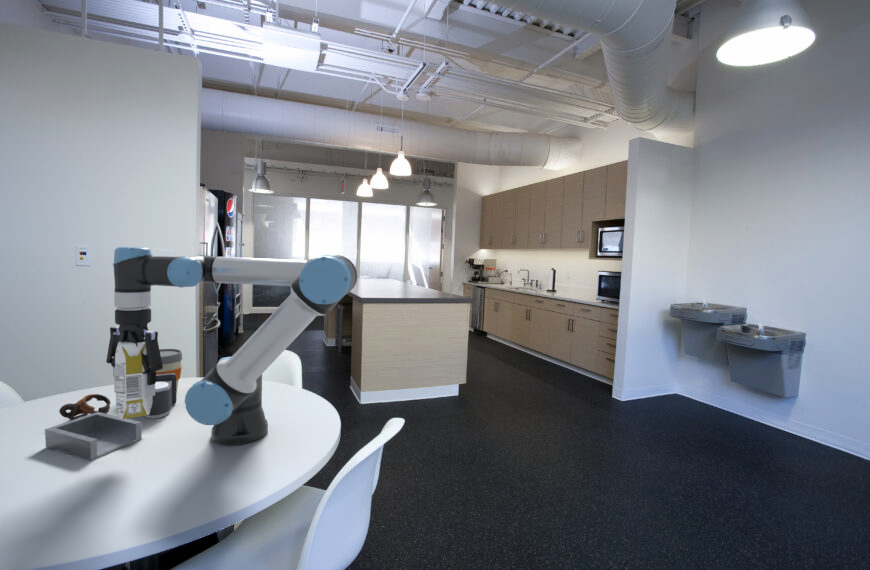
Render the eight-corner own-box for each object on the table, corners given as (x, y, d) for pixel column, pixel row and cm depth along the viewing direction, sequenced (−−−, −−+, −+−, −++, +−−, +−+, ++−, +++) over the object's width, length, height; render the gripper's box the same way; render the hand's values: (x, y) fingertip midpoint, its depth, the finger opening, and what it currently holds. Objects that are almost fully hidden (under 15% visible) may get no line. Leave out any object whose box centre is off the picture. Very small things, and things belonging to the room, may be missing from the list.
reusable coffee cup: (179, 385, 162) (179, 347, 161) (185, 394, 152) (185, 354, 151) (140, 391, 154) (139, 351, 153) (143, 401, 144) (143, 359, 143)
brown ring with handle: (97, 411, 136) (108, 390, 135) (105, 431, 131) (117, 410, 130) (50, 413, 126) (62, 391, 125) (57, 435, 121) (70, 412, 120)
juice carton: (116, 421, 102) (114, 345, 101) (117, 409, 109) (115, 338, 108) (153, 415, 107) (152, 342, 105) (151, 404, 114) (150, 336, 112)
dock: (141, 439, 117) (141, 422, 117) (90, 460, 105) (90, 441, 105) (98, 428, 123) (98, 411, 122) (45, 447, 111) (45, 429, 110)
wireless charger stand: (135, 423, 128) (134, 390, 127) (138, 406, 139) (137, 375, 138) (177, 417, 134) (176, 385, 133) (176, 401, 145) (176, 371, 144)
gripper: (179, 310, 106) (179, 395, 108) (117, 302, 113) (119, 383, 115) (150, 313, 99) (152, 405, 101) (87, 305, 106) (89, 391, 108)
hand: (134, 393), depth 108 cm, fingers closed on juice carton, 9 cm apart
